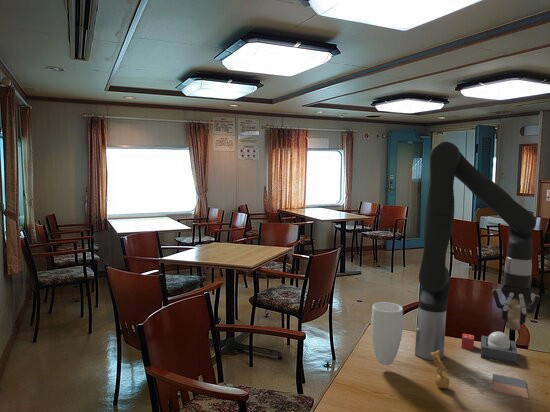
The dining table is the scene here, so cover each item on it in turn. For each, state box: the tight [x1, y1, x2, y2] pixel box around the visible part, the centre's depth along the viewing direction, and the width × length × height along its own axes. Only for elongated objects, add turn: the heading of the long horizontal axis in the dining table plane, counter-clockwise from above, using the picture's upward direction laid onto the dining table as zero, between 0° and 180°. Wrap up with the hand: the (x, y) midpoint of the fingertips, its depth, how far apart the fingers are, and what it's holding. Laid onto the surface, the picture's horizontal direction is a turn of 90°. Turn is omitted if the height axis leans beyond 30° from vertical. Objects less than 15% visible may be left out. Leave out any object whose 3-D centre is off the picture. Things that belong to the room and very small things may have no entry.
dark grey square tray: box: [480, 335, 518, 366], centre depth 149 cm, size 11×11×4 cm
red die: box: [460, 333, 475, 351], centre depth 155 cm, size 4×4×4 cm
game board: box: [492, 373, 529, 400], centre depth 128 cm, size 9×11×1 cm
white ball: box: [488, 331, 511, 350], centre depth 149 cm, size 7×7×7 cm
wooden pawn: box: [505, 299, 523, 331], centre depth 135 cm, size 4×4×10 cm
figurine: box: [430, 350, 450, 389], centre depth 126 cm, size 8×6×12 cm
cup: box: [370, 301, 404, 366], centre depth 135 cm, size 10×10×22 cm
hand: (513, 322), depth 135 cm, fingers closed on wooden pawn, 4 cm apart
